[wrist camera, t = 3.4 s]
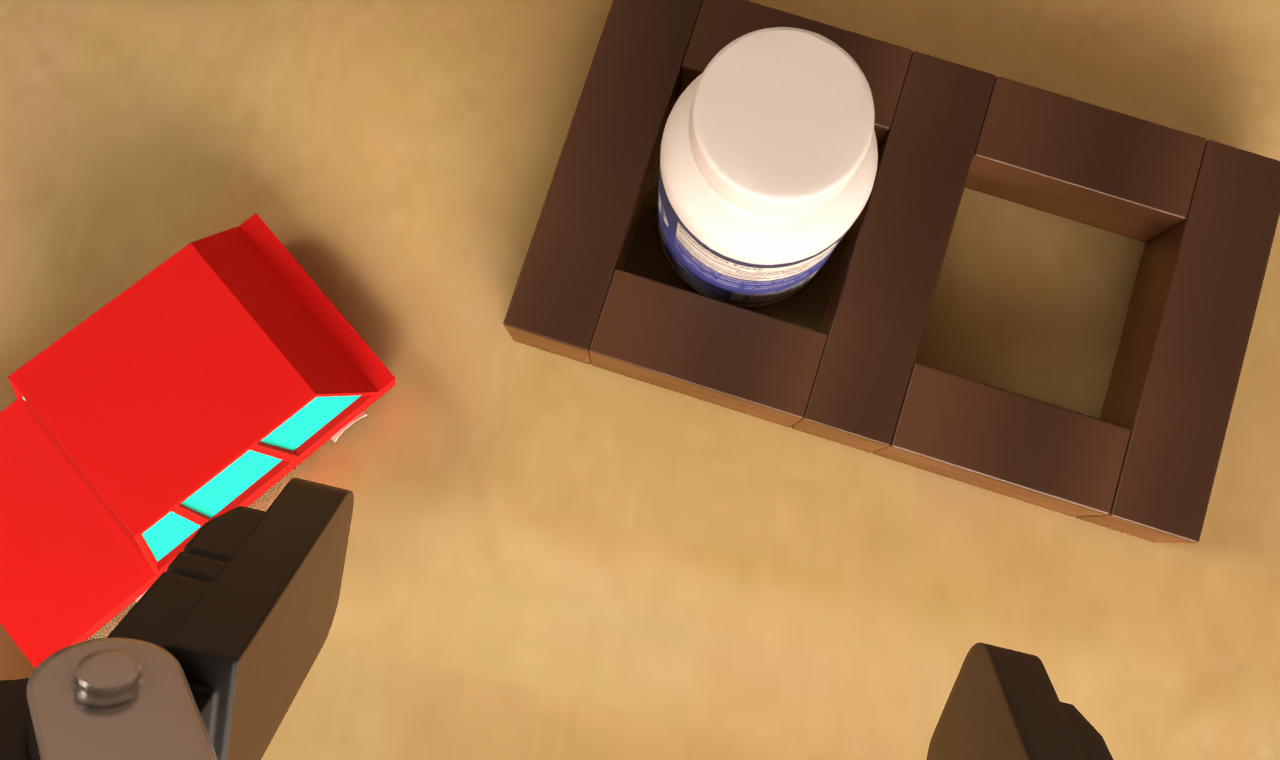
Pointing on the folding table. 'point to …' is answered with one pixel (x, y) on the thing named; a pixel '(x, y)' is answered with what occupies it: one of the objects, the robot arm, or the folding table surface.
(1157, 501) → the peg board
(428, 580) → the folding table surface
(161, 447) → the toy car
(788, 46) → the pill bottle
